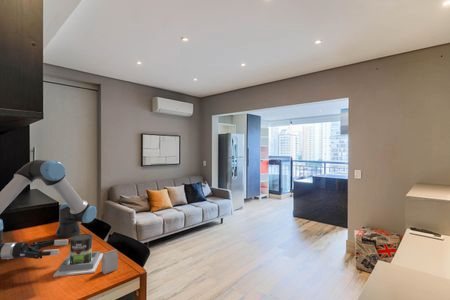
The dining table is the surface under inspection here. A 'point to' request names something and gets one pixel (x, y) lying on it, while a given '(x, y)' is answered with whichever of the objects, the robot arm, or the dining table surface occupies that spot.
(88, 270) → the caddy
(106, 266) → the white printed box
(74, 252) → the coffee can
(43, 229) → the dining table surface
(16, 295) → the dining table surface
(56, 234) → the robot arm
